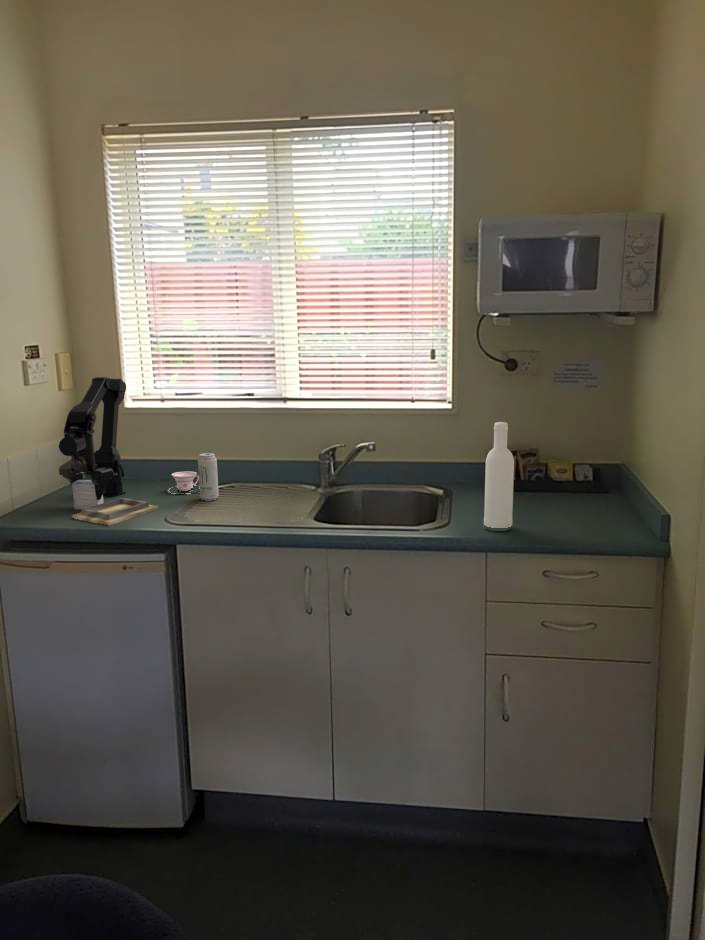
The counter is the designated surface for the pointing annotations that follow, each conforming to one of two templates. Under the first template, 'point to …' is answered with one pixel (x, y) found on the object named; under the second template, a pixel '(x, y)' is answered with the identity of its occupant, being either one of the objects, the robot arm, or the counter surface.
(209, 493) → the energy drink can
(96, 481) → the robot arm
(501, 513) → the bottle
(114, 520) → the holder
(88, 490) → the medicine box
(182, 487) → the teacup
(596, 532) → the counter surface
